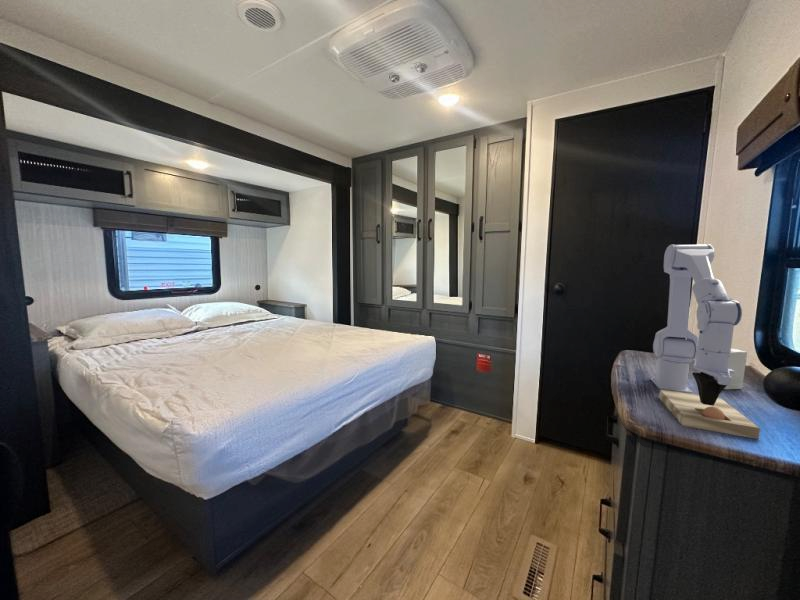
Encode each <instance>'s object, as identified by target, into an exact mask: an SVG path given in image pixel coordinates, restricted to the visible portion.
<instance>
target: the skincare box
mask: <svg viewBox="0 0 800 600" xmlns="http://www.w3.org/2000/svg"><path fill="white" fill-rule="evenodd" d="M747 357H748V351H746V350H741V349H737V348H731V352H730V360H729V368H728V369H732V370H734V371H735V374H731V373H730V377H732V383H731V386H729V385H727V386H726V387H725V388H724V389H723V390H742V389H743V385H744V377H745V370H746V362H747Z"/></svg>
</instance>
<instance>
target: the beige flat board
mask: <svg viewBox="0 0 800 600" xmlns="http://www.w3.org/2000/svg"><path fill="white" fill-rule="evenodd" d="M658 394H659V395H658V399H660V401H661V402H662V403H663V405H664V406H665V407H666V408H667V409H668V410H669V411H670V412H672V413H671V415H673V416H674V417H675V418H677V419H678V420H677V419H676V420H677V421H678V422H679V423H680V425H681V424H682V425H681V426H683V427H688V428H694V429H700V430H705V431H710V432H715V433H722V434H729V435H733V436H738V437H739V436H740V437H745V438H750V439H757V440H759V437H760V431H761V428H760V426H758V425H756V424H755V423H754V422H752V421H751V420H750V419H749V418H747V417H746V416H745V415H743V414H742V413H741V412H739V411H738V410H737V409H736V408H734V407H733V406H732V405H730V404H729V403H727V401H725V400H724V399H722V398H721V397H718V398H717V400H716V402H715V404H714V406H712V405H705V404H702V403H701V402H700V397H699V394H697V393H687V392H680V391H673V390H666V389H660V388H659V393H658ZM707 407H716V408H719V409H720V410H721V411H722V412H723V413H724V416H725V417H724V420H721V419H715V418H709V417H704V415H703V411H704V409H705V408H707Z"/></svg>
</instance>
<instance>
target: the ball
mask: <svg viewBox="0 0 800 600" xmlns="http://www.w3.org/2000/svg"><path fill="white" fill-rule="evenodd" d="M703 415H704V417H709V418H715V419H721V420H724V417H725V416H724V413H723V412H722V411H721V410H720V409H719V408H716V407H707V408H705V409H704V411H703Z"/></svg>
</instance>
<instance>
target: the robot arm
mask: <svg viewBox="0 0 800 600" xmlns="http://www.w3.org/2000/svg"><path fill="white" fill-rule="evenodd" d="M715 254H716V253H715V248H714V246H713V245H712V244H710V243H707V244H670V245H668V246H666V249H665V252H664V256H663V272H664V273H666V274H668V275H669V291H668V293H669V295H668V310H667V325H666V327H664V328H662V329H660V330H658V331H657V332H655V334H654V335H655V336H654V340H653V343H652V350H653V354H654V355H655V356H656V357H657V359H656V361H655V368H654V369H655V370H654V377H650V380H651V381H652V383H653V384H655V386H656V387H657V388H658V389H659V390H660V389H662V390H669V391H676V392H683V393H690V394H693V391H692V390H691V389H690V388H688V387H687V386H688V378H689V372H690V371H689V368H690V363H693V364H692V365H693V366H692V367H693V368H694V370H696V371H699V372H692V376H693V378H694V381H695V383H696V386H697V391H698V395H699V397H700V402H701V403H702V404H705V405H712V406H714V404H715V402H716V400H717V398H719V396H720V394H721V393H722V392H723V390H725V389H724V388H725V387H726V386H727V385H729V386H731V383H732V377H730V373H731V374H735V371H734V370H732V369H728V368H729V360H730V352H731V349H732V343H733V334H734V327H735V326H737V325H739V324H740V322H741V320H742V317H743V310H742V306H741V303H740V302H739V301H738V300H735V299H734V298H732V297H731V298H730V297H729V295H728V293H727V290H726V288H725V286H724V285H723V282H722V281H721V280H720V279H719V278H718V279H717V278H715V277H714V274H713V271H712V266H711V264H712V263H713V261H714V258H715ZM692 280H693V282H694V284H693V285H692V287H691V284H692ZM691 289H692V292H693V295H694V297H695V300H696V303H697V309H696V318H697V319H696V320H697V324H696V327H697V330H699V331H698V335H696V334H695V333H694V332H693V331H691V330H690V329H689V317H690V315H689V313H690V298H691Z"/></svg>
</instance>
